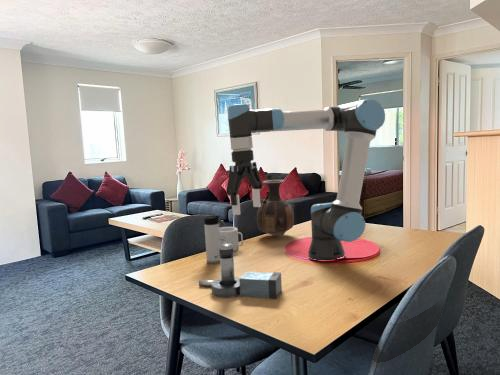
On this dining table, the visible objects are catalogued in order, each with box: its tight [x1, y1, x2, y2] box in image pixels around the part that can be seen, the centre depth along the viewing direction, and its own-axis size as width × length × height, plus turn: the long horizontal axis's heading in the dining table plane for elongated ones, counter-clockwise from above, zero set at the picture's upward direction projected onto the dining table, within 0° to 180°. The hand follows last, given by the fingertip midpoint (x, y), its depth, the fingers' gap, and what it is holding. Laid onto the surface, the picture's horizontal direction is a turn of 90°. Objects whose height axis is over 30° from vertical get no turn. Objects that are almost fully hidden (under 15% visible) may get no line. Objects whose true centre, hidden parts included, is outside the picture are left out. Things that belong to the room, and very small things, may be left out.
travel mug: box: [203, 215, 220, 265], centre depth 161 cm, size 6×7×20 cm
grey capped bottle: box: [219, 243, 236, 286], centre depth 127 cm, size 5×5×16 cm
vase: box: [256, 179, 295, 238], centre depth 198 cm, size 23×19×30 cm
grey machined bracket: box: [198, 270, 283, 300], centre depth 127 cm, size 30×11×6 cm, turn 72°
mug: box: [219, 226, 244, 252], centre depth 179 cm, size 14×11×10 cm
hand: (247, 210), depth 133 cm, fingers open, 13 cm apart
